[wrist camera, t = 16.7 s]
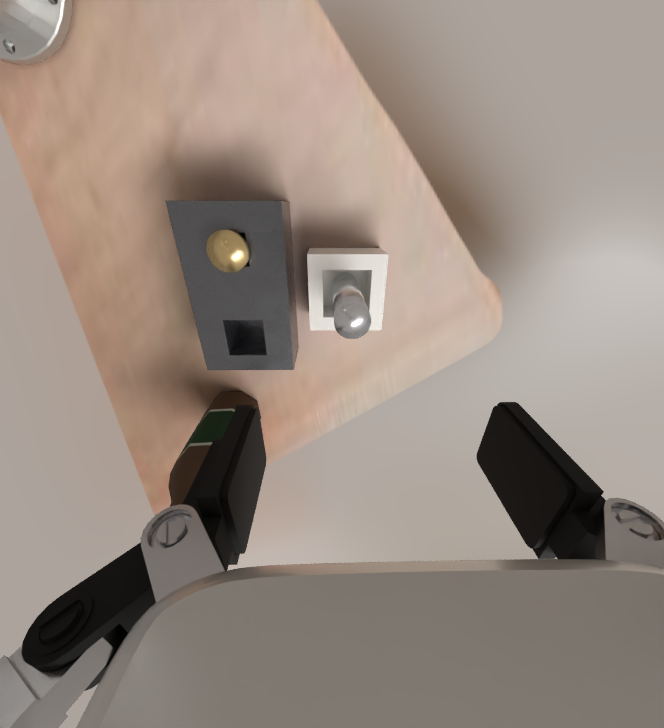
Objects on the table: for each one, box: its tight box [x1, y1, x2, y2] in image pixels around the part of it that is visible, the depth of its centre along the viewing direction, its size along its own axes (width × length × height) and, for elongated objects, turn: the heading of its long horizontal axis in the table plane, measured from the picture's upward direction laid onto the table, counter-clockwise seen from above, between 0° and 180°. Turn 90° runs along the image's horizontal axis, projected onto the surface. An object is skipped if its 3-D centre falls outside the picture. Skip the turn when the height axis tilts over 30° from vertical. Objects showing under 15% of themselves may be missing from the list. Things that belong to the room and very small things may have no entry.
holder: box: [307, 248, 388, 330], centre depth 32 cm, size 8×8×5 cm
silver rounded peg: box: [332, 272, 371, 339], centre depth 28 cm, size 3×3×12 cm
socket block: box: [166, 201, 298, 370], centre depth 31 cm, size 17×10×6 cm, turn 0°
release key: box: [206, 229, 250, 273], centre depth 28 cm, size 4×4×6 cm
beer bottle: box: [169, 391, 261, 507], centre depth 32 cm, size 8×8×24 cm
